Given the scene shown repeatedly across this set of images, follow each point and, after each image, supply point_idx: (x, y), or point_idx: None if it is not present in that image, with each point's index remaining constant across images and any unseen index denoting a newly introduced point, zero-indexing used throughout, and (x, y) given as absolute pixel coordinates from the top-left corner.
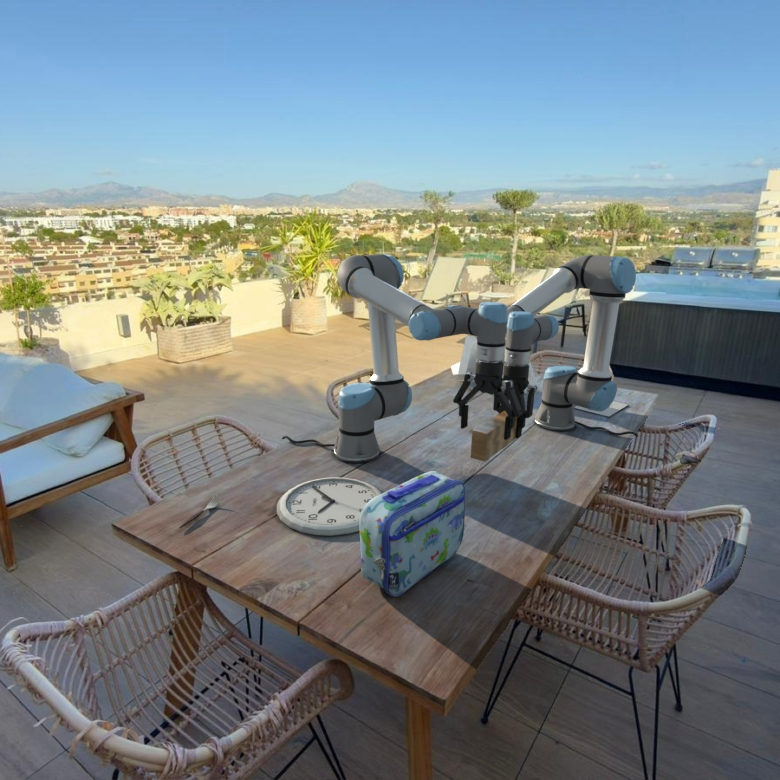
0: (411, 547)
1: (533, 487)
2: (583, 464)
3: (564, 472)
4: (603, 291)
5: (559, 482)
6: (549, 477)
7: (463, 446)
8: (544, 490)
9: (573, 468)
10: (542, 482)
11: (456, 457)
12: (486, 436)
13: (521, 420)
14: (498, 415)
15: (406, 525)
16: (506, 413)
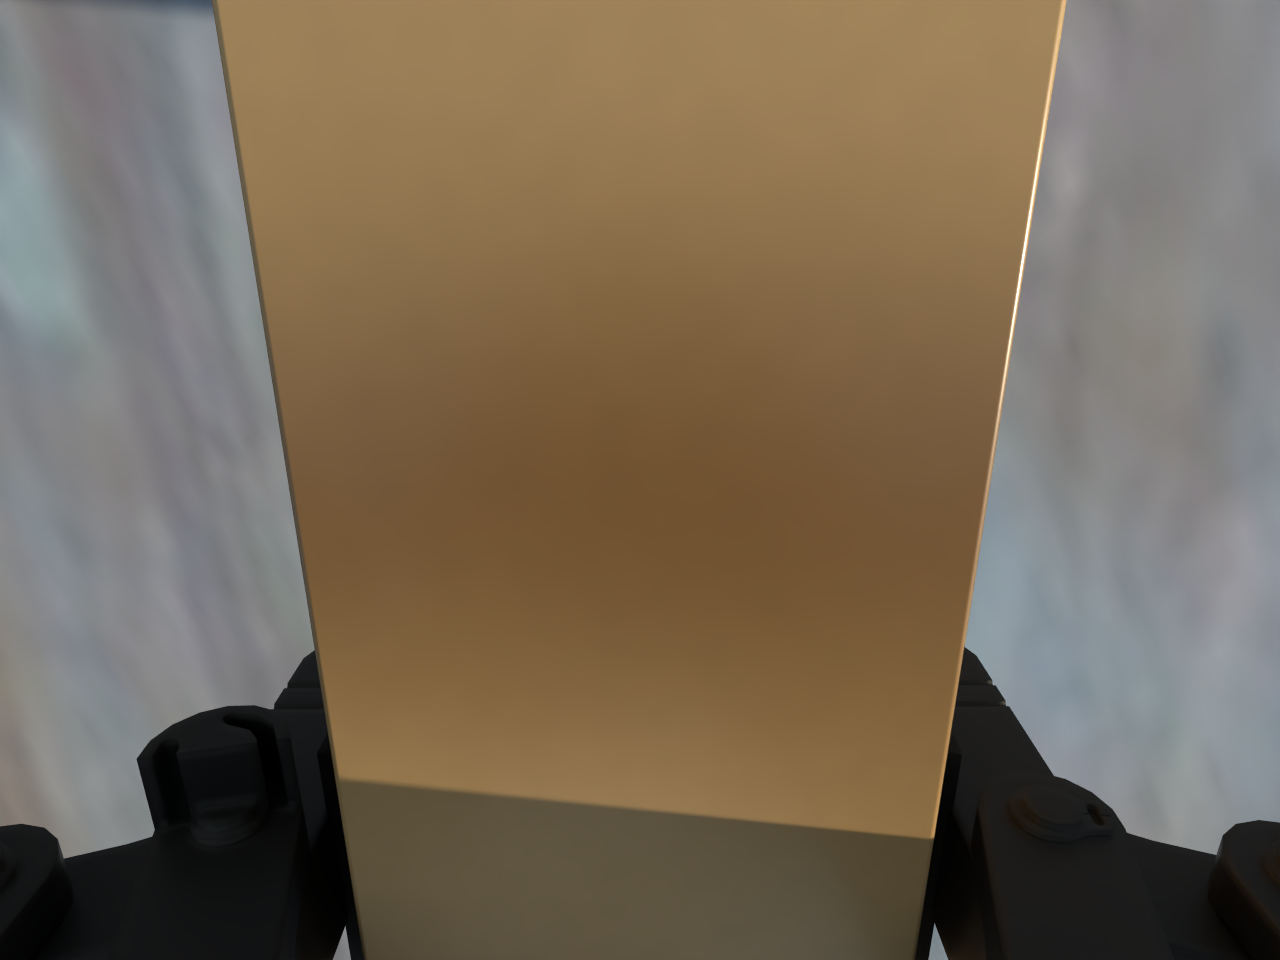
0: None
1: (141, 47)
2: (104, 847)
3: (125, 606)
4: None
5: (24, 365)
6: (162, 411)
7: (1259, 545)
8: (11, 58)
9: (117, 729)
10: (145, 246)
11: (1253, 218)
12: None
13: (306, 767)
14: (939, 216)
15: None
16: (722, 684)
